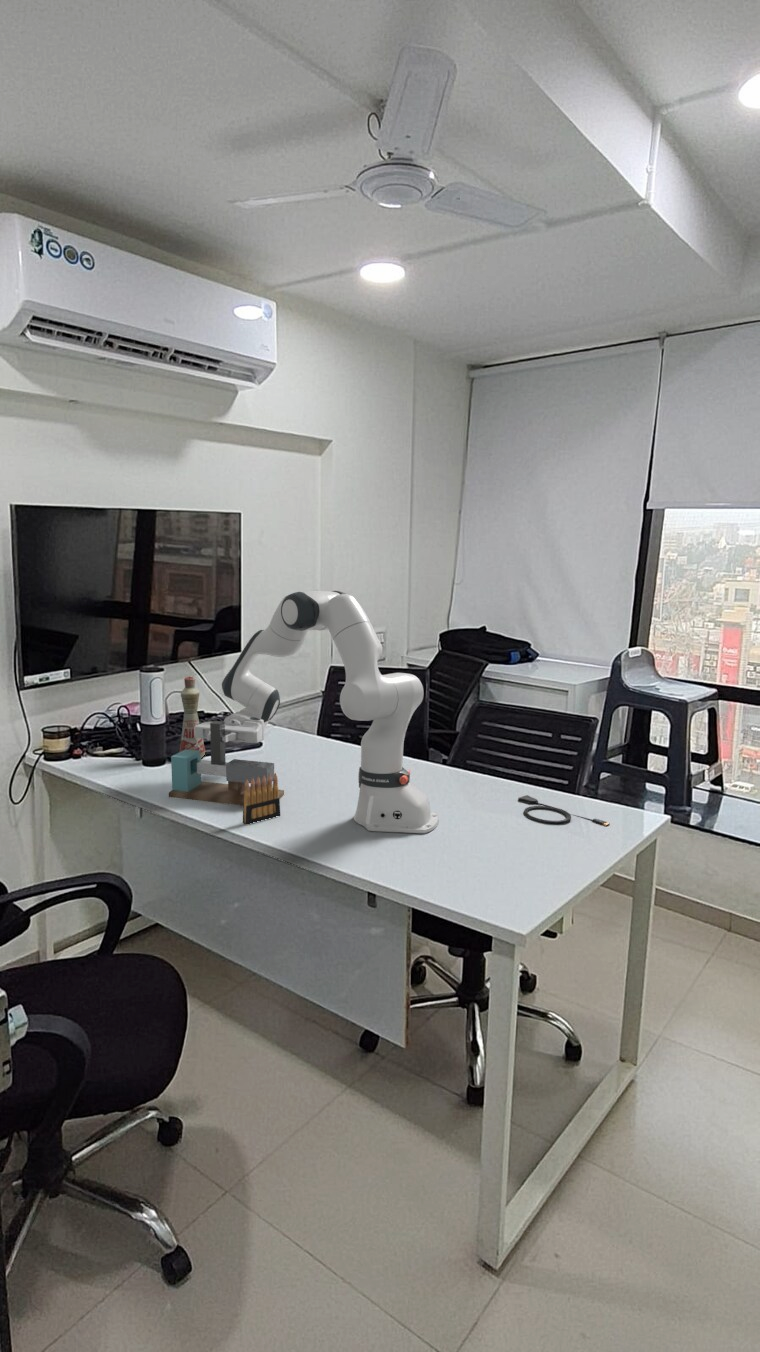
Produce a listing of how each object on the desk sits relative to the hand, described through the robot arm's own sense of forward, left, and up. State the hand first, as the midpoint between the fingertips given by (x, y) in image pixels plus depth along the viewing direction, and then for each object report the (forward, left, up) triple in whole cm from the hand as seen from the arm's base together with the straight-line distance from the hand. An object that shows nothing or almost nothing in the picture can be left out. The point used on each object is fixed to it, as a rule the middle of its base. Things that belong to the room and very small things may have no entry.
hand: (216, 738), depth 221 cm
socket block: (+10, -1, -15) cm, 19 cm away
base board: (-2, -1, -17) cm, 17 cm away
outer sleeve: (-10, -1, -11) cm, 15 cm away
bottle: (+26, -33, -17) cm, 46 cm away
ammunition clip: (-20, +13, -17) cm, 29 cm away
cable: (-93, -14, -18) cm, 96 cm away
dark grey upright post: (-4, -1, -11) cm, 11 cm away
